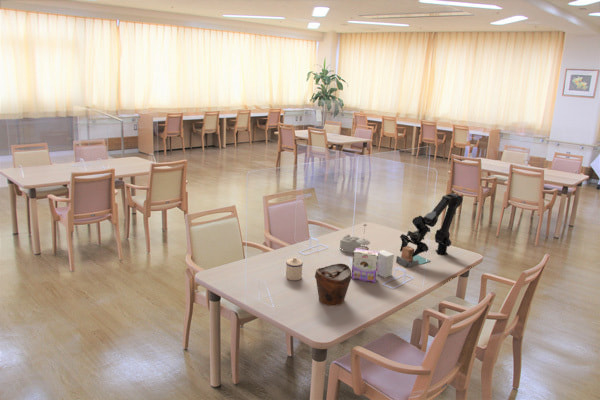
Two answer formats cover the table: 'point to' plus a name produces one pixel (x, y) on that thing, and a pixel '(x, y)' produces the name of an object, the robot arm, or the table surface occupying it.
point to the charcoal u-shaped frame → (406, 262)
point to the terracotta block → (407, 253)
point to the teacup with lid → (294, 269)
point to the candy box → (365, 265)
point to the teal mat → (420, 259)
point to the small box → (385, 263)
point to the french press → (363, 242)
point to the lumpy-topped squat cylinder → (349, 243)
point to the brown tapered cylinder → (333, 283)
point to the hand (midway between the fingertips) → (406, 253)
